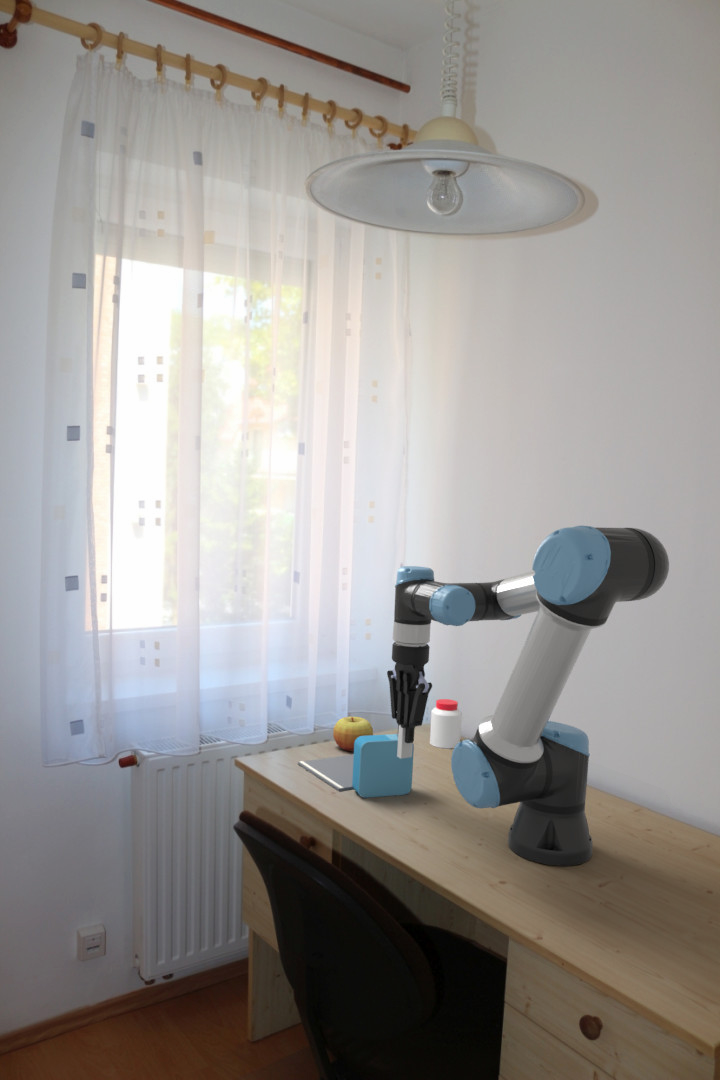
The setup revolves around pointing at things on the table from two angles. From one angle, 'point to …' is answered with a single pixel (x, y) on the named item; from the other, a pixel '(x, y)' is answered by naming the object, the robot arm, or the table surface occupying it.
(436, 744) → the pill bottle
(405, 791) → the light blue flat block
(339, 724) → the apple
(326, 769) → the mat
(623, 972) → the table surface
